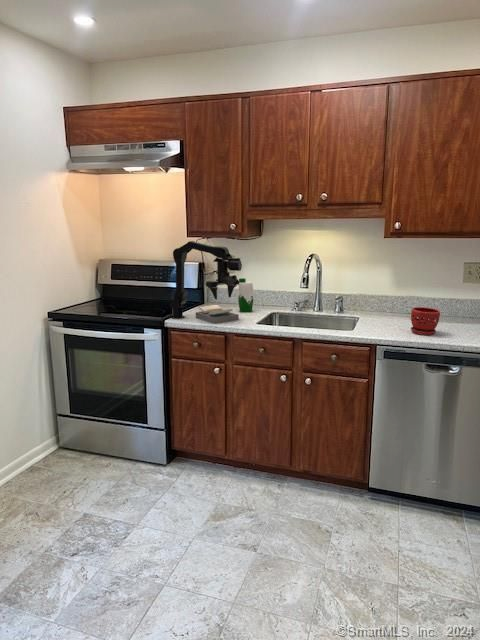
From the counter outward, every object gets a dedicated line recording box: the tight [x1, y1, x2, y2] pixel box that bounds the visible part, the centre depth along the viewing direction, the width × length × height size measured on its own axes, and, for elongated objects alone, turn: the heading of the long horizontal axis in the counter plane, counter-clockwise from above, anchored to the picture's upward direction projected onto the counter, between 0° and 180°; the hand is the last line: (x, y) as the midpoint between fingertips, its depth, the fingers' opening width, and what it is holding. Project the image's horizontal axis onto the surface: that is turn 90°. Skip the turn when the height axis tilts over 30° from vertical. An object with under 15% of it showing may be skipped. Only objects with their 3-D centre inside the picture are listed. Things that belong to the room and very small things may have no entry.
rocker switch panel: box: [195, 311, 240, 325], centre depth 264 cm, size 20×16×3 cm
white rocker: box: [198, 304, 224, 313], centre depth 268 cm, size 6×12×2 cm, turn 127°
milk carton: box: [237, 277, 254, 313], centre depth 283 cm, size 9×9×20 cm
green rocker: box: [209, 308, 234, 315], centre depth 260 cm, size 6×12×2 cm, turn 126°
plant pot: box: [410, 306, 441, 336], centre depth 229 cm, size 13×13×12 cm
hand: (222, 298), depth 257 cm, fingers open, 9 cm apart
